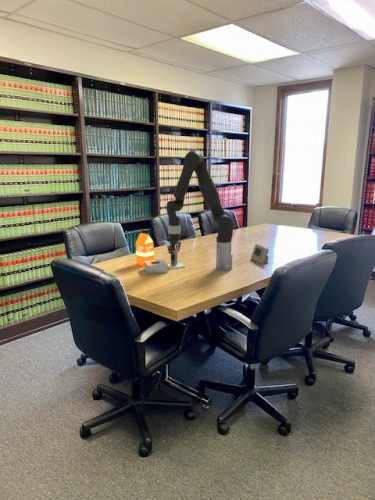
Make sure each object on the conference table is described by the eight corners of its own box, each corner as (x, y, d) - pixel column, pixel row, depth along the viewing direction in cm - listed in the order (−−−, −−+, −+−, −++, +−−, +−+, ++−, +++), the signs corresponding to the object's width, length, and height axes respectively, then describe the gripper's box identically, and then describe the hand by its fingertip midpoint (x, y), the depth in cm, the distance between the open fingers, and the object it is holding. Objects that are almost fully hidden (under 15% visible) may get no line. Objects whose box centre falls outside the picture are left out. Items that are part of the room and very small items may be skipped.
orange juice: (145, 266, 236) (144, 235, 231) (136, 263, 241) (135, 233, 237) (154, 263, 241) (153, 233, 237) (145, 261, 247) (144, 232, 242)
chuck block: (163, 267, 233) (162, 259, 232) (167, 272, 222) (167, 264, 220) (144, 268, 229) (144, 261, 228) (148, 274, 218) (147, 266, 217)
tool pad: (181, 264, 239) (181, 263, 239) (185, 267, 232) (184, 266, 232) (166, 265, 236) (166, 264, 236) (169, 268, 229) (169, 267, 229)
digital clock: (250, 258, 252) (250, 243, 250) (263, 258, 253) (263, 243, 250) (256, 265, 236) (256, 248, 234) (270, 264, 237) (270, 248, 234)
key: (178, 264, 235) (178, 247, 232) (175, 266, 231) (175, 249, 229) (172, 264, 237) (172, 247, 234) (169, 265, 233) (169, 248, 231)
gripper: (173, 234, 221) (173, 262, 225) (184, 231, 233) (184, 257, 237) (163, 233, 225) (163, 260, 229) (174, 230, 237) (174, 256, 241)
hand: (174, 259), depth 233 cm, fingers closed on key, 3 cm apart
